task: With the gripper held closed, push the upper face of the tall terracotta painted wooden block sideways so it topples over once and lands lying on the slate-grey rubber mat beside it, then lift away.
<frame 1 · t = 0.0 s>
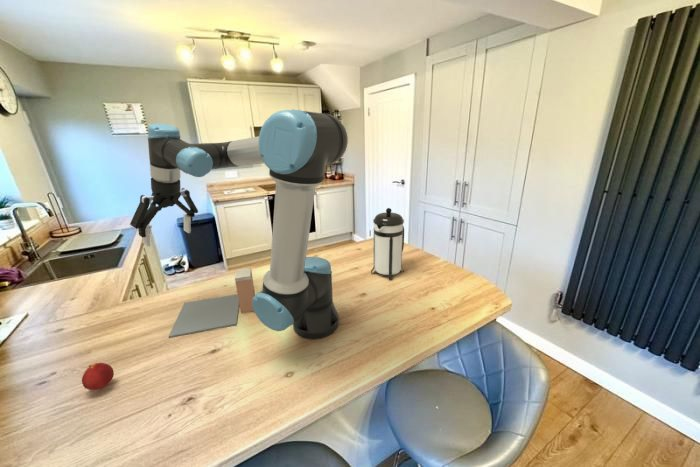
hand: (167, 237, 94), 28 cm above the worktop, tool tilted 20°, fingers open, 13 cm apart
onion: (103, 388, 71), on the worktop
coffee press: (388, 271, 127), on the worktop
tall block: (248, 306, 103), on the worktop
mat: (208, 313, 100), on the worktop
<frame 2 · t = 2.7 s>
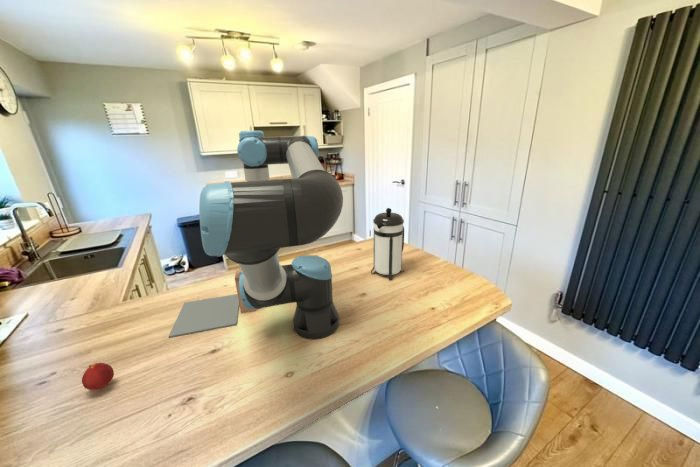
hand: (266, 248, 99), 22 cm above the worktop, tool pointing down, fingers closed
nothing on the worktop moved.
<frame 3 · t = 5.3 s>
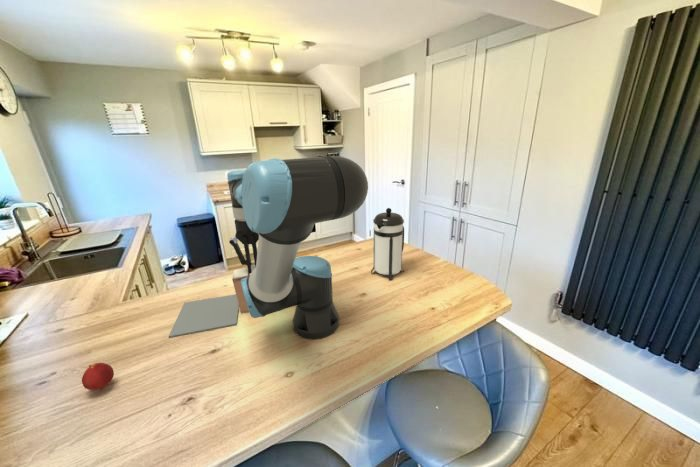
hand: (255, 280, 101), 10 cm above the worktop, tool pointing down, fingers closed
tall block: (248, 306, 103), on the worktop, touching gripper
everything else where it was.
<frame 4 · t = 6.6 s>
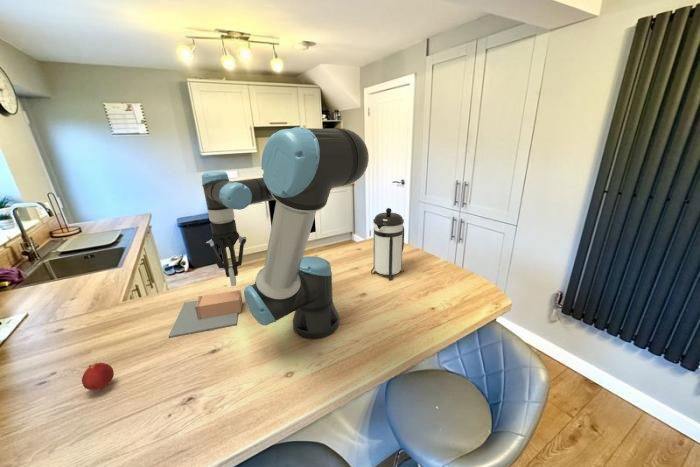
hand: (233, 283, 99), 10 cm above the worktop, tool pointing down, fingers closed
tall block: (240, 300, 102), point 3 cm above the worktop, tilted 90°, touching mat
everything else where it was.
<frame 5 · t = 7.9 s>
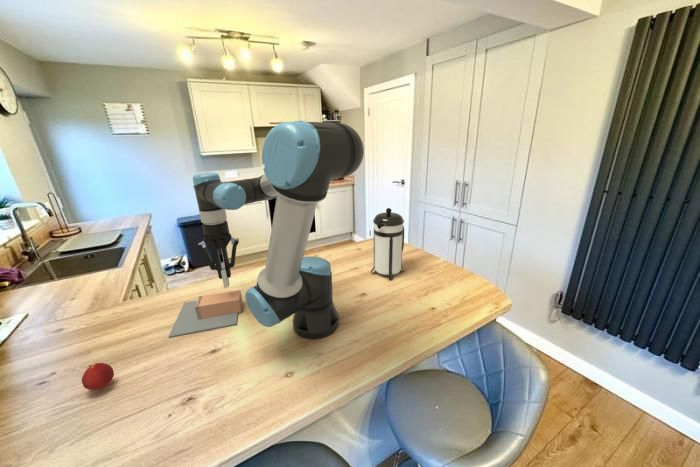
hand: (226, 285, 98), 10 cm above the worktop, tool pointing down, fingers closed
nothing on the worktop moved.
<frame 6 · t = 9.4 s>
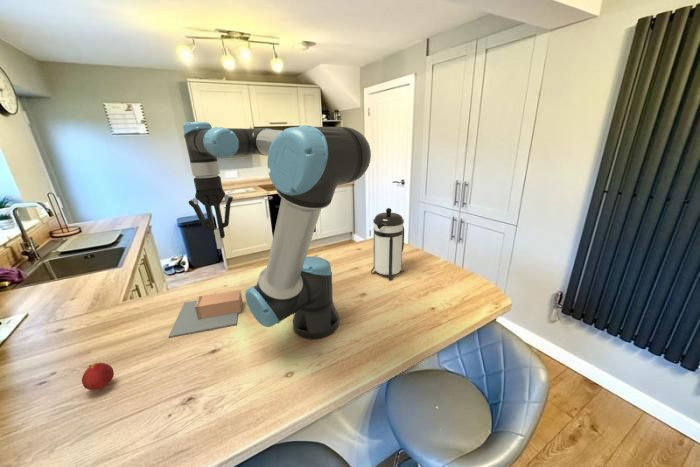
hand: (220, 247, 94), 24 cm above the worktop, tool pointing down, fingers closed
nothing on the worktop moved.
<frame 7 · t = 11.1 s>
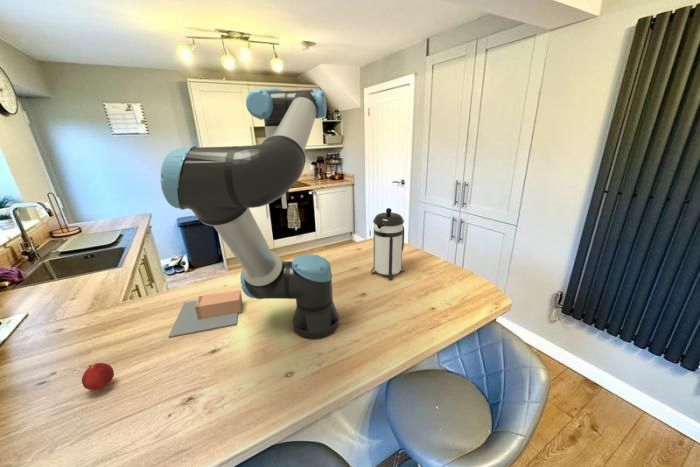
hand: (284, 207, 103), 34 cm above the worktop, tool pointing down, fingers closed
nothing on the worktop moved.
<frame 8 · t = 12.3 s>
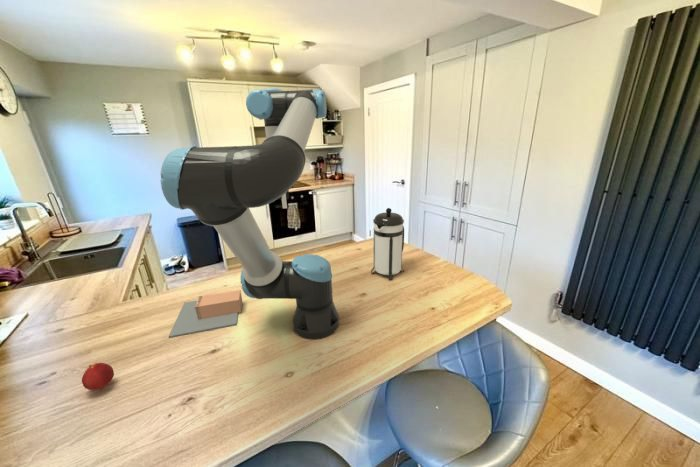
hand: (284, 207, 103), 34 cm above the worktop, tool pointing down, fingers closed
nothing on the worktop moved.
at the end: tall block tilted 90°; tall block inside the target area (5.1 cm from its centre), point 3.1 cm above the worktop; tall block touching mat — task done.
